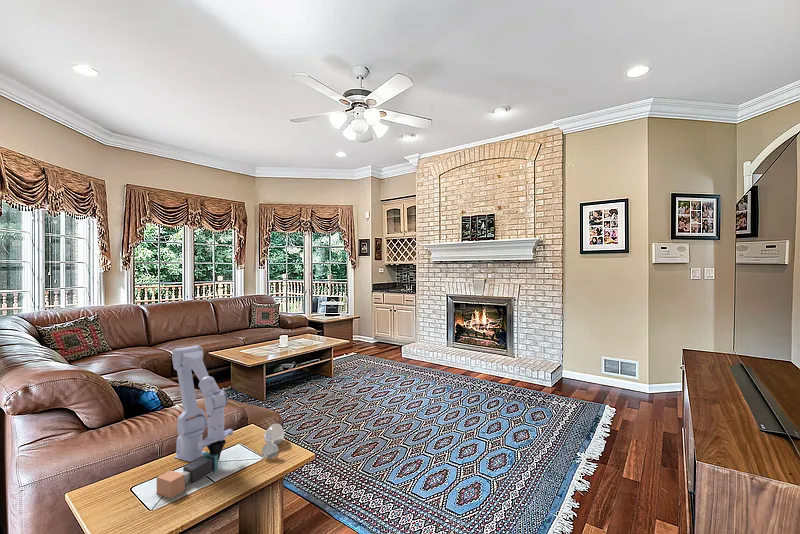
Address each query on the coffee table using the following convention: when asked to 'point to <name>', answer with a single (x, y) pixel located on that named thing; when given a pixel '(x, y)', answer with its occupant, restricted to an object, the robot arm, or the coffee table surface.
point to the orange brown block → (170, 483)
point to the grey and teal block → (208, 455)
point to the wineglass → (272, 440)
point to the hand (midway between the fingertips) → (215, 460)
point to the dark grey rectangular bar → (199, 468)
